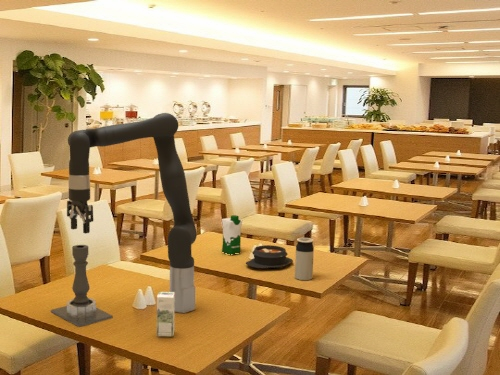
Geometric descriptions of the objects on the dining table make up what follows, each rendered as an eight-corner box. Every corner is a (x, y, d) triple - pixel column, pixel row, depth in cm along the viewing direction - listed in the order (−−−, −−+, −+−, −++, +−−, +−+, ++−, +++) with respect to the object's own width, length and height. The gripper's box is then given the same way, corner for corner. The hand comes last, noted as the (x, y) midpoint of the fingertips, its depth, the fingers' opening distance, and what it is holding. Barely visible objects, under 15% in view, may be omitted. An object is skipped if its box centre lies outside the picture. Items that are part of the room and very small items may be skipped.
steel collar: (112, 317, 233) (112, 305, 233) (78, 327, 224) (78, 314, 223) (84, 303, 247) (83, 291, 246) (50, 311, 237) (50, 299, 237)
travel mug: (292, 279, 286) (294, 240, 283) (297, 274, 293) (298, 236, 291) (310, 281, 283) (311, 242, 281) (314, 276, 291) (315, 238, 288)
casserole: (262, 274, 292) (263, 257, 291) (237, 265, 306) (237, 248, 305) (301, 266, 308) (302, 249, 307) (275, 257, 322) (276, 241, 321)
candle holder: (72, 315, 232) (71, 249, 228) (72, 309, 238) (71, 244, 234) (89, 314, 234) (89, 248, 230) (89, 308, 240) (89, 244, 236)
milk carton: (229, 256, 321) (230, 217, 318) (219, 252, 328) (219, 214, 325) (243, 254, 327) (244, 216, 323) (232, 250, 333) (233, 212, 330)
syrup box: (174, 330, 223) (175, 291, 220) (173, 337, 217) (173, 296, 214) (158, 330, 222) (158, 290, 220) (156, 337, 217) (156, 296, 214)
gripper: (99, 188, 225) (99, 233, 228) (78, 183, 235) (79, 226, 238) (80, 190, 220) (81, 236, 223) (59, 185, 230) (60, 229, 233)
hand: (80, 231), depth 230 cm, fingers open, 8 cm apart
